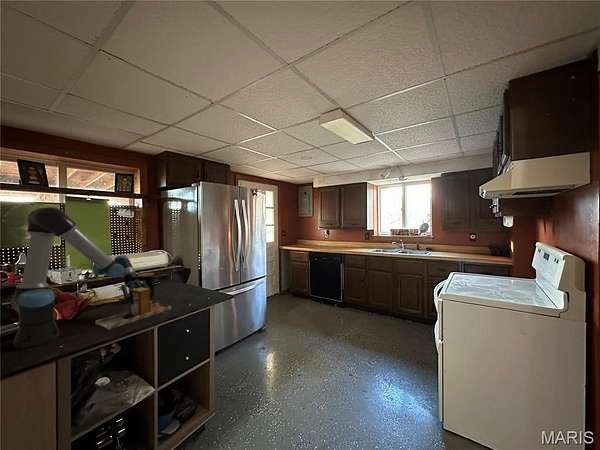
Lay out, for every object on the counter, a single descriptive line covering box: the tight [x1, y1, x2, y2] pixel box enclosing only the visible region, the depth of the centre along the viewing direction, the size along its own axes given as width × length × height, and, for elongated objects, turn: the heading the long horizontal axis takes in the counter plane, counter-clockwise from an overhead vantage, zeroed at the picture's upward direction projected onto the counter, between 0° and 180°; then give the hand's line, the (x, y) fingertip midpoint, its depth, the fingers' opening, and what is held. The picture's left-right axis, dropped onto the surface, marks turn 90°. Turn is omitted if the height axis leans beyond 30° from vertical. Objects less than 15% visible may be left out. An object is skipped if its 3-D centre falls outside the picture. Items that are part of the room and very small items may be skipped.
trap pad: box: [151, 304, 166, 312], centre depth 158 cm, size 9×11×1 cm
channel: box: [94, 302, 172, 331], centre depth 147 cm, size 35×14×2 cm, turn 151°
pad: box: [97, 317, 126, 329], centre depth 137 cm, size 11×11×1 cm
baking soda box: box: [129, 287, 151, 317], centre depth 149 cm, size 10×6×16 cm
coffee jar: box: [136, 272, 155, 300], centre depth 182 cm, size 11×11×18 cm
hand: (143, 305), depth 147 cm, fingers closed on baking soda box, 7 cm apart
